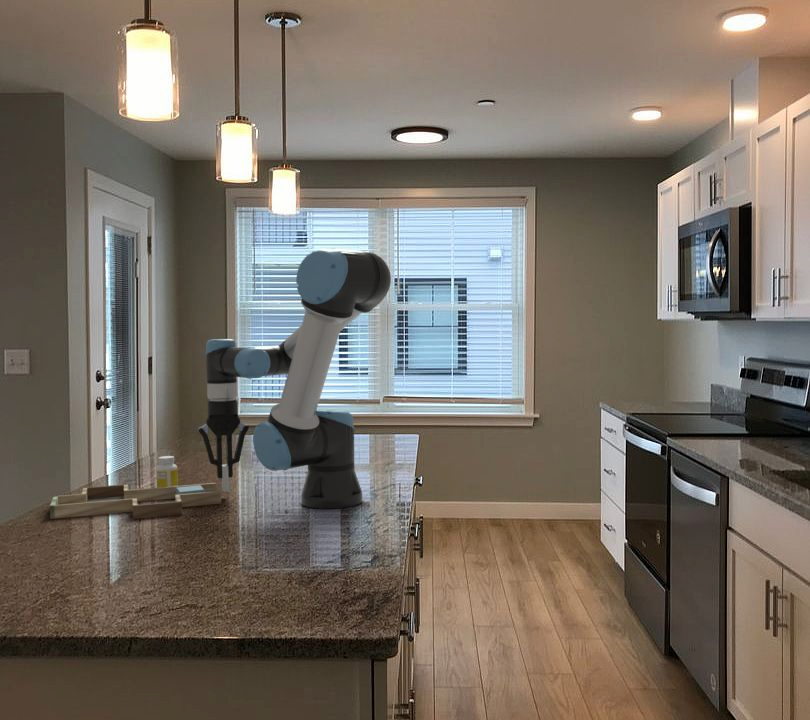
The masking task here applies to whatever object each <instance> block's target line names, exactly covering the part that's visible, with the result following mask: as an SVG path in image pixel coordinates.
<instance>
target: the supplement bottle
mask: <svg viewBox="0 0 810 720" xmlns="http://www.w3.org/2000/svg"><path fill="white" fill-rule="evenodd" d="M174 462H175V456H173V455H164V456H163V455H162V456H159V457H158V464H159V465H157V466H156V488H158V487H170V486H179V474H178V466H177V465H176V464H175V463H174Z"/></svg>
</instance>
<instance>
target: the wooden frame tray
mask: <svg viewBox="0 0 810 720" xmlns="http://www.w3.org/2000/svg"><path fill="white" fill-rule="evenodd" d="M198 485H201V487H202V488H203V489H204V492H201V493H189V494H177V487H187V486H198ZM221 491H222V490H217V482H210V483H209V482H207V483H196V484H183V485H178V486H170V487H158V488H157V487H147V488H134V489H129V484H128V483H126V484H125V483H124V484H113V485H101V486H99V485H98V486H86V487H83V488H82V492H81V493H77V494H76V493H74V494H64V495H54V496H53V497H52V500H51V502H50V505H49V517H50V520H54V519H64V518H65V519H66V518H75V517H77V518H78V517H87V516H97V515H98V516H99V515H107V514H108V515H109V514H118V513H119V514H120V513H130V512H131V513H132V516H133V518H132V519H133V520H135V519H136V520H137V519H145V518H146V519H147V518H158V517H166V516H167V517H168V516H179V515H183V508H185V507H197V506H208V505H217V504H222V492H221ZM171 499H174V501H165V502H164V501H163V502H156V503H155V502H154V503H144V504H138V502H148V501H159V500H161V501H162V500H171Z"/></svg>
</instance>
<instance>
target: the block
mask: <svg viewBox="0 0 810 720" xmlns="http://www.w3.org/2000/svg"><path fill="white" fill-rule="evenodd" d="M201 492H204V489H203V488H202V487H201V485H198V486H187V487H177V494H189V493H201Z"/></svg>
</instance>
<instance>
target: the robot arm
mask: <svg viewBox="0 0 810 720" xmlns="http://www.w3.org/2000/svg"><path fill="white" fill-rule="evenodd" d="M296 272H297V273H296V279H295V283H296V284H297V288H296V289H297V292H298V294H299V297H300V298H301V301H300V302H301V303H300V304H301V305H302V307H303V309H304V310H305V312H304V315H303V319H302V323H301V324H300V326H298V328H297V329H295V331H294V332H293V333H292V334H290V335H289V336H288V337H287V338H286V339H285V340H283V342H281V343H280V344H278V345H268V346H267V345H265V346H244V347H243V346H242V347H241V346H240V347H239V346H238V347H237V342H236V340H235V339H233V338H232V339H231V338H219V339H217V338H214V339H208V340H207V341H206V343H205V345H206V347H205V365H206V366H205V367H206V368H205V369H206V384H207V385H206V387H207V388H206V389H207V390H206V392H207V399H209V400H208V401H207V418H206V420H205V424H203V425H201V426H199V427H198V428H197V431H198V433H199V434H200V435H201V437H202V440H203V443H204V447H205V450H206V455H207V457H208V460H209V463H210V464H211V465H214V466H216V477H217V478H218V479H221V491H222V492H224V493H226V492H229V491H230V486H229V485H230V483H229V481H230V480H229V478H233V476H234V475H233V473H234V472H233V466H234V464H236V463H240V460H241V455H242V450H243V446H244V441H245V436H246V433H247V432H248V431H249V429H250V426H249V425H248V424H245V423H243V422H242V421H241V419H240V417H239V404H238V399H236V398H237V397H238V379H237V378H243V379H244V378H246V379H249V380H251V379H259V378H263V377H269V376H284V375H287V376H286V378H285V379H286V380H285V384H284V386H283V390H282V393H281V397H280V401H279V403H277V404H274V405H273V406H272V407H271V408H270V412H269V416H268V418H267V421H262V422H260V423H259V424H257V425H256V426H255V428H254V431H253V435H252V446H253V450H254V452H255V454H256V457H257V459H258V461H259V463H261V465H262V466H263V467H265V468H266V469H267V470H270V471H275V472H276V471H287V470H289V469H294V468H300V467H305V466H307V474H306V477H305V480H304V484H303V488H302V490H301V491H302V492H301V494H300V495H301V497H300V498H301V499H300V501H301V503H300V504H301V505H302V506H305V507H308V508H313V509H341V508H349V507H353V506H357V505H359V504H360V503H362V502H363V491H362V487H361V485H360V482H359V479H358V476H357V473H356V470H355V426H354V417H353V415H352V413H350V412H349V411H344V410H343V411H342V410H335V409H334V410H332V409H318V406H319V402H320V399H321V395H322V393H323V390H324V385H325V383H326V379H327V375H328V373H329V370H330V365H331V362H332V359H333V357H334V353H335V349H336V345H337V342H338V339H339V336H340V332H341V331H342V330H344V329H345V328H346V327H347V326H349V324H351V323H352V322H353V321H355V319H356V318H358V317H359V316H360V315H361V314H368V313H370V312H371V311H373V309H374V308H376V307H377V306H378V305H379V304H381V302H382V301H383V300H384V299H385V297H386V296H387V294H388V293H389V290H390V287H391V283H392V277H391V271H390V269H389V266H388V264H387V263H386V261H385V260H384V259H383V258H382V257H381V256H380V255H377V254H376V253H375V252H371V251H368V250H365V251H364V250H346V249H336V248H324V249H323V248H322V249H321V248H320V249H316V250H313V251H312V252H309V254H307V255H306V256H305V257H304V258H303V260H302V261H301V262H300V264H299V266H298V269H297V271H296ZM237 428H238V431H239V433H238V436H237V437H238V438H237V441H236V442H237V443H236V447H235V451H234V456H233V434H234V433H235V432H236V429H237ZM209 429H210V431H211V432H212V433H213V434H214V435H215V449H216V450H215V451H216V452H215V453H216V455H215V456H216V458H215V456H214V453H213V450H212V446H211V443H210V439H209V435H208V433H209ZM222 436H225V444H226V447H225V448H226V464H223V446H222V445H223V443H222V442H223V441H222V440H223V437H222Z"/></svg>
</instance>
